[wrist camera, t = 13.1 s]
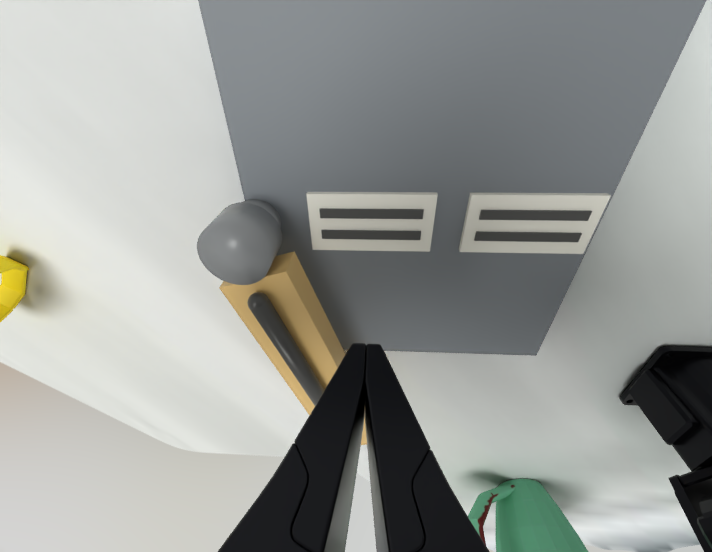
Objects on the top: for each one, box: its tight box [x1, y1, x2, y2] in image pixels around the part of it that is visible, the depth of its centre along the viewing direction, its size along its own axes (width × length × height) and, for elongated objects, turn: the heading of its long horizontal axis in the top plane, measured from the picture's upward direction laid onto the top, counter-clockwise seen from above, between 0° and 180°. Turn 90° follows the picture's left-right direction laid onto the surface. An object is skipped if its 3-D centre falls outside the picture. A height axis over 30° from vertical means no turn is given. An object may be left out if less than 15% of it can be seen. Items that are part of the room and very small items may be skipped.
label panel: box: [198, 0, 706, 355], centre depth 16 cm, size 19×20×2 cm
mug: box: [468, 479, 588, 552], centre depth 32 cm, size 15×10×10 cm
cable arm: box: [197, 202, 367, 445], centre depth 19 cm, size 19×4×3 cm, turn 18°
